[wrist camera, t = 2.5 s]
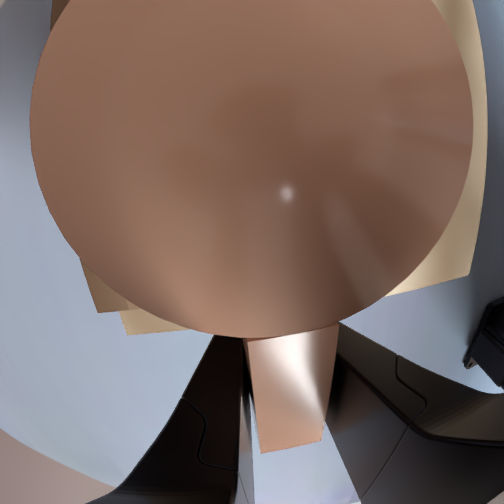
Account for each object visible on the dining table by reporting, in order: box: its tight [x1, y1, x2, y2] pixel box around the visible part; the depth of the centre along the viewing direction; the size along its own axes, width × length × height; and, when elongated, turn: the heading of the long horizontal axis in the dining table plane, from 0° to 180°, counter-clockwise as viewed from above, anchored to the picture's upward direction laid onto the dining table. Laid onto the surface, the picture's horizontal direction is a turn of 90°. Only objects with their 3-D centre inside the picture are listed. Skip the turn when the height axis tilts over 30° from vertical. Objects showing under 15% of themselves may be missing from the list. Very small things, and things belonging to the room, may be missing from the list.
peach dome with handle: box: [30, 0, 473, 453], centre depth 7 cm, size 11×7×6 cm, turn 4°
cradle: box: [50, 0, 487, 335], centre depth 9 cm, size 18×16×3 cm
